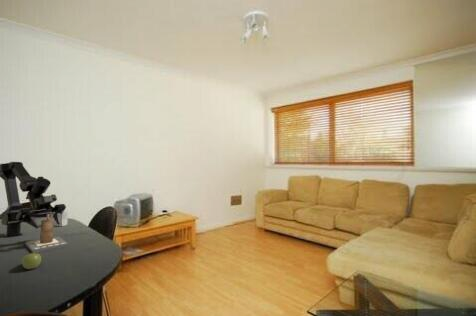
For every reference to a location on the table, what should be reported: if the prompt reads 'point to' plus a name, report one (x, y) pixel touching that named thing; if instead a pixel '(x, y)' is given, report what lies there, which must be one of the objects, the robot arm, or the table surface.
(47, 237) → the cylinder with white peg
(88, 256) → the table surface
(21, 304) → the table surface
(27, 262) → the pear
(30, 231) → the table surface
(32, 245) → the grey flat block
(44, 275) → the table surface
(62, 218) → the medicine box
